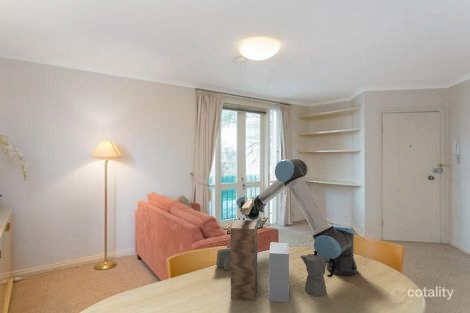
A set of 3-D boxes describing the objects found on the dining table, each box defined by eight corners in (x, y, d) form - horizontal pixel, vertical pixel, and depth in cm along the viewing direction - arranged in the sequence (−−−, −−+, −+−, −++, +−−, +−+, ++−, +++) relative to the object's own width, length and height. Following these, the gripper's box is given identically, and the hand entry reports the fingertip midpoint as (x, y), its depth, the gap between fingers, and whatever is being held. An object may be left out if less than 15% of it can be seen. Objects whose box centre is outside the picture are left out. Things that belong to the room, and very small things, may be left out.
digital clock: (244, 262, 154) (244, 243, 154) (247, 269, 145) (247, 249, 145) (215, 264, 152) (215, 245, 152) (216, 271, 143) (216, 250, 143)
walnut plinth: (257, 285, 128) (257, 220, 127) (254, 301, 114) (254, 228, 114) (236, 283, 130) (236, 219, 129) (230, 299, 116) (230, 227, 115)
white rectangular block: (288, 286, 127) (288, 243, 126) (288, 302, 113) (288, 254, 112) (270, 285, 128) (270, 242, 128) (269, 301, 114) (269, 253, 114)
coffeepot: (298, 293, 120) (298, 252, 120) (301, 284, 129) (301, 245, 128) (336, 300, 114) (336, 257, 114) (337, 290, 123) (337, 250, 123)
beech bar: (253, 204, 146) (253, 198, 146) (248, 214, 122) (248, 207, 122) (247, 204, 146) (247, 198, 146) (241, 214, 123) (241, 207, 123)
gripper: (267, 220, 155) (265, 206, 135) (238, 219, 158) (232, 205, 137) (267, 207, 159) (265, 192, 138) (239, 207, 161) (233, 191, 141)
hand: (249, 199), depth 138 cm, fingers closed on beech bar, 3 cm apart
